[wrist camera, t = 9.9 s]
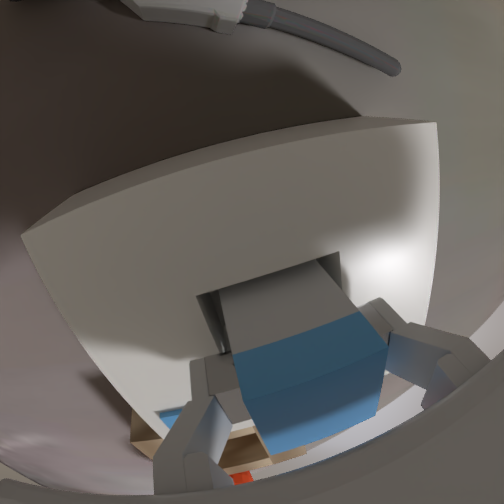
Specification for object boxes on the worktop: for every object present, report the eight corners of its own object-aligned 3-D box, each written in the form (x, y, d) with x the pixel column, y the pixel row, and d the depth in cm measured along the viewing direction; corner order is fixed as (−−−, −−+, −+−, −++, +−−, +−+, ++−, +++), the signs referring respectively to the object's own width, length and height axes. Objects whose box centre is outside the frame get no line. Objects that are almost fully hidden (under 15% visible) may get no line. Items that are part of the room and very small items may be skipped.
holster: (276, 357, 17) (296, 406, 14) (291, 415, 21) (306, 453, 18) (133, 393, 17) (130, 442, 13) (179, 443, 20) (183, 482, 17)
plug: (293, 234, 12) (388, 346, 6) (304, 299, 14) (375, 415, 7) (212, 258, 12) (243, 401, 6) (234, 322, 13) (270, 455, 7)
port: (362, 116, 12) (442, 122, 7) (373, 309, 18) (419, 361, 13) (73, 194, 11) (15, 238, 6) (166, 376, 16) (168, 448, 12)
